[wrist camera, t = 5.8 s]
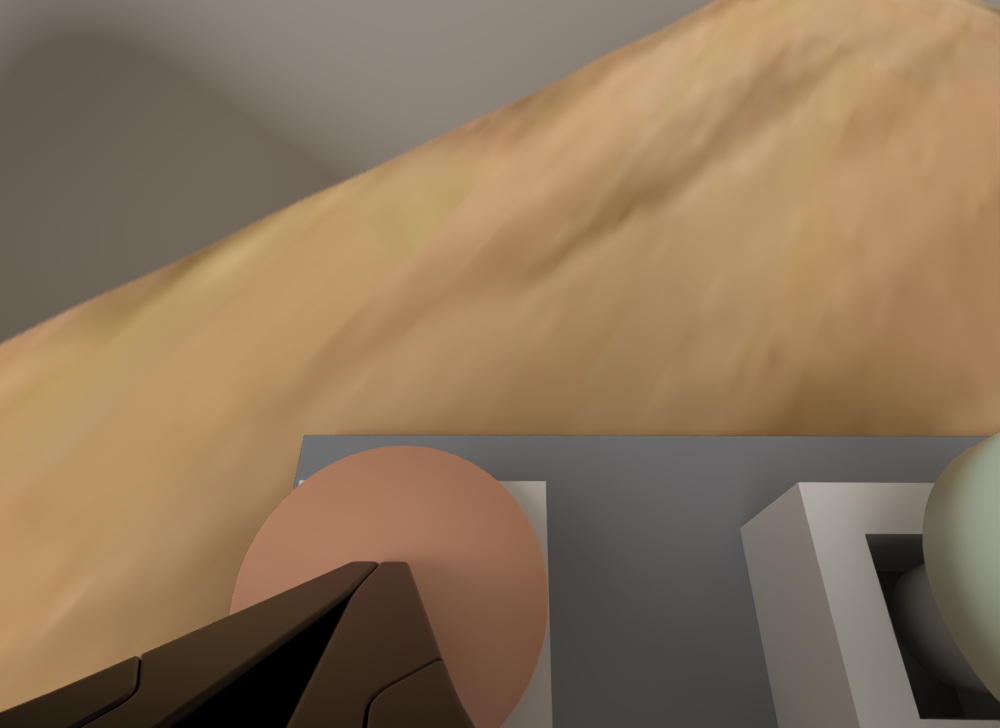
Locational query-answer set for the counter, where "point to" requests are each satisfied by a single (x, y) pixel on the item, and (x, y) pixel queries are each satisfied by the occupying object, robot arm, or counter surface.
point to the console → (718, 576)
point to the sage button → (957, 576)
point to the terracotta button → (421, 559)
